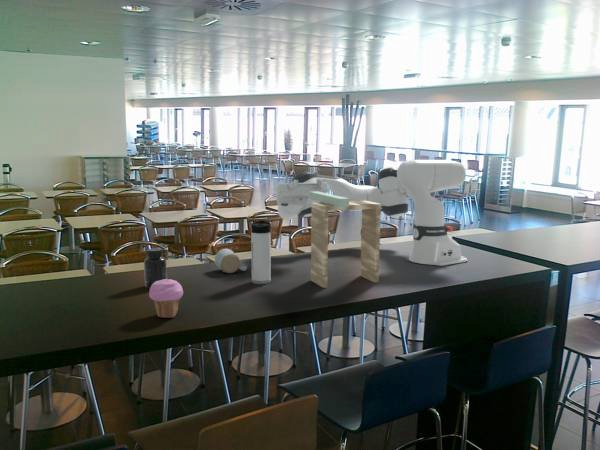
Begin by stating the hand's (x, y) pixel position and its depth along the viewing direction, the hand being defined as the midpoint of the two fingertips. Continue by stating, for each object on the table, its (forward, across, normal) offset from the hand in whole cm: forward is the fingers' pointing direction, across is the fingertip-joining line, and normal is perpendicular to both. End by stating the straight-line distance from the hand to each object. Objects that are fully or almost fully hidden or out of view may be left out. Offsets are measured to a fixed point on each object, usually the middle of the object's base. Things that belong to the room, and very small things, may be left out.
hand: (308, 181), depth 203 cm
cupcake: (+23, +58, -50) cm, 79 cm away
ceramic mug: (-15, +30, -28) cm, 43 cm away
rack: (+9, -2, -41) cm, 42 cm away
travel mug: (+1, +24, -37) cm, 44 cm away
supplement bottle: (-4, +57, -34) cm, 67 cm away
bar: (+19, +3, -17) cm, 26 cm away
